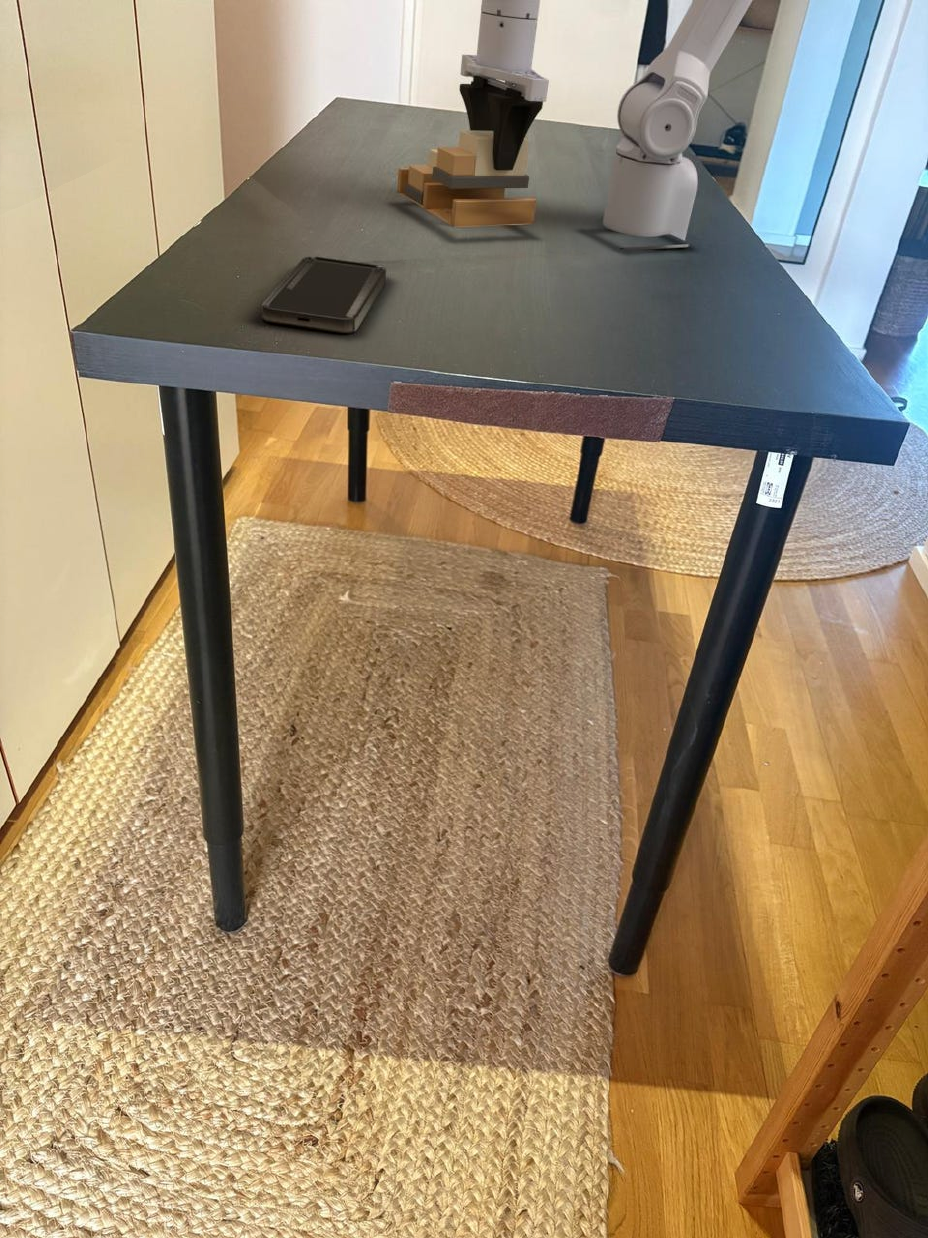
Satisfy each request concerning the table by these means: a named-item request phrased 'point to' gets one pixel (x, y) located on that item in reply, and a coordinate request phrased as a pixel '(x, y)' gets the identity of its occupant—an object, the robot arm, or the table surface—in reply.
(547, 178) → the table surface
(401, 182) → the wooden compartment tray
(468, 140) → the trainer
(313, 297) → the phone
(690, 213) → the robot arm
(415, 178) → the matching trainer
